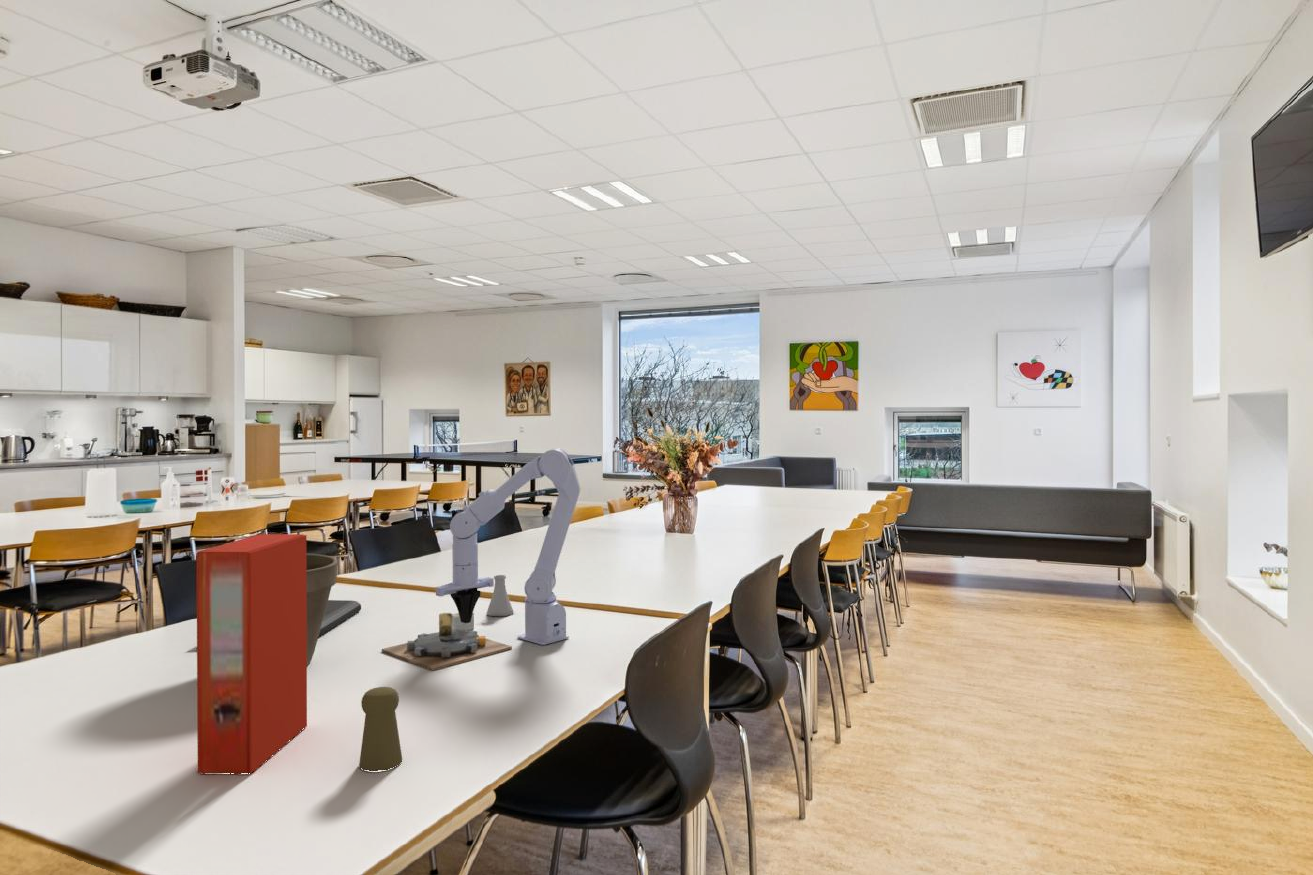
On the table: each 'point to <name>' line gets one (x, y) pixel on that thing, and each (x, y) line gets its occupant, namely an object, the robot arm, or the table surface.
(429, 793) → the table surface
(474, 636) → the sprocket
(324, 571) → the plant pot
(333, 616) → the closed laptop
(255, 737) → the file binder
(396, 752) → the olive pawn
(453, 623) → the grey rectangular block
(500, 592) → the flask
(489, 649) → the board
